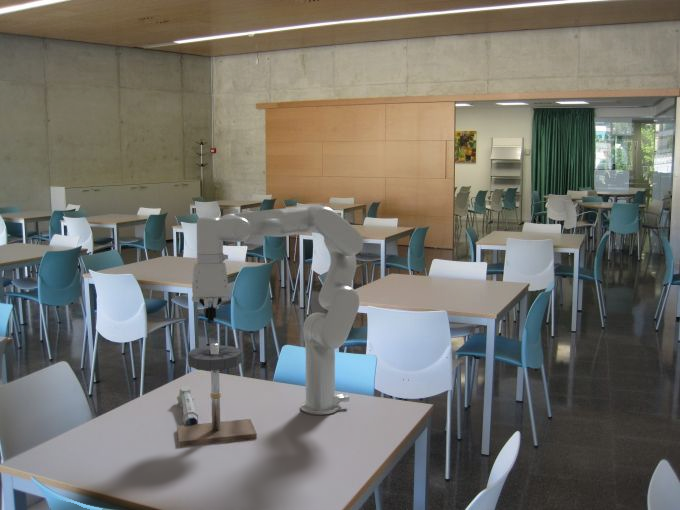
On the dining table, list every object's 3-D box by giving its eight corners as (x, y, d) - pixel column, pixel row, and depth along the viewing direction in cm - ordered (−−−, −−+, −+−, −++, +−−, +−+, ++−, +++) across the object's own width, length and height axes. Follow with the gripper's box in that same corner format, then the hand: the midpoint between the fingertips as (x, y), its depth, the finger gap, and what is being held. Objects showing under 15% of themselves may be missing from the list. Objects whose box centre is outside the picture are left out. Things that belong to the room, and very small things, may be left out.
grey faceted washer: (237, 353, 214) (237, 344, 214) (244, 367, 200) (244, 357, 200) (186, 357, 210) (186, 347, 210) (190, 371, 196) (190, 361, 195)
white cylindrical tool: (182, 418, 211) (176, 382, 234) (183, 438, 213) (176, 400, 236) (200, 416, 212) (192, 380, 235) (200, 436, 214) (192, 398, 237)
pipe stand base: (250, 423, 217) (250, 418, 217) (256, 438, 205) (256, 433, 205) (177, 430, 211) (177, 426, 211) (179, 446, 199) (179, 441, 199)
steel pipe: (220, 427, 210) (218, 342, 206) (221, 431, 207) (220, 344, 203) (210, 428, 209) (208, 343, 205) (211, 432, 206) (209, 345, 202)
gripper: (233, 256, 212) (234, 316, 215) (183, 258, 208) (183, 318, 211) (237, 260, 205) (237, 322, 207) (184, 261, 201) (185, 324, 203)
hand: (210, 320), depth 209 cm, fingers closed
